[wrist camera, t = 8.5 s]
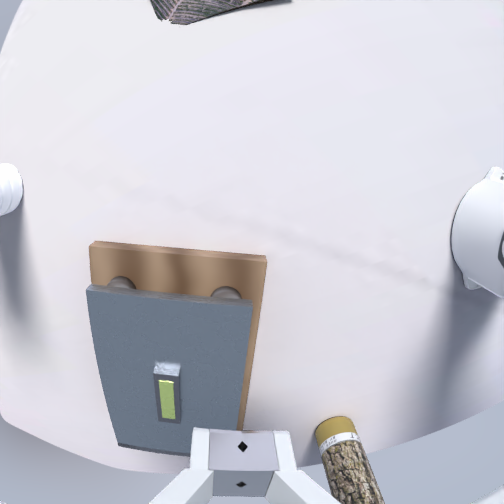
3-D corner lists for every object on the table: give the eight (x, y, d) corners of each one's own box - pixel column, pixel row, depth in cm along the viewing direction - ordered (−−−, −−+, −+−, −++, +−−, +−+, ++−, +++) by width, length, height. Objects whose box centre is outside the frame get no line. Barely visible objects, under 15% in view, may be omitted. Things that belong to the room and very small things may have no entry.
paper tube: (317, 442, 48) (349, 560, 24) (310, 422, 46) (346, 553, 22) (353, 430, 48) (396, 544, 24) (350, 409, 45) (399, 535, 22)
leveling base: (265, 255, 36) (270, 271, 31) (239, 436, 46) (240, 457, 41) (95, 240, 34) (78, 254, 29) (121, 423, 44) (115, 443, 39)
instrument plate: (251, 299, 32) (253, 312, 29) (231, 452, 40) (232, 466, 38) (91, 283, 30) (81, 294, 27) (121, 439, 38) (117, 452, 36)
